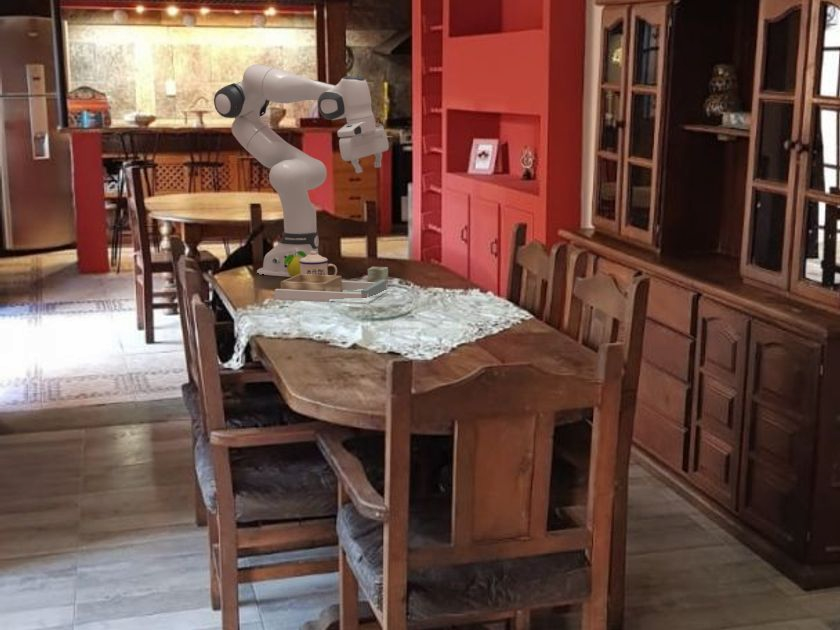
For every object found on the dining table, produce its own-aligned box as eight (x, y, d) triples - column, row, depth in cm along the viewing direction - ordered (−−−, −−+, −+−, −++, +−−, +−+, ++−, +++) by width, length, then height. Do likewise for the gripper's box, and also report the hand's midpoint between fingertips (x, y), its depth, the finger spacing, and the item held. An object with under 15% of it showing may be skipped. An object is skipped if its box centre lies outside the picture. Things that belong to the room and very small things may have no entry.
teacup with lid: (302, 290, 338) (301, 254, 336) (297, 285, 347) (296, 250, 345) (340, 288, 342) (339, 252, 339) (334, 283, 350) (333, 248, 348)
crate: (281, 297, 321) (280, 281, 320) (299, 289, 334) (299, 274, 333) (325, 299, 317) (324, 283, 316) (341, 291, 330) (341, 275, 329)
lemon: (307, 277, 363) (307, 247, 361) (304, 280, 357) (303, 250, 355) (288, 277, 363) (287, 247, 361) (284, 280, 358) (283, 250, 356)
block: (368, 291, 337) (367, 269, 336) (373, 288, 342) (372, 266, 340) (383, 291, 336) (382, 269, 334) (388, 289, 340) (387, 267, 339)
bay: (274, 303, 319) (274, 286, 318) (299, 291, 337) (299, 275, 336) (367, 307, 311) (366, 290, 310) (387, 295, 329) (387, 279, 328)
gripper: (374, 122, 353) (381, 164, 357) (333, 132, 338) (341, 176, 341) (389, 121, 349) (396, 163, 353) (348, 131, 334) (356, 175, 338)
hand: (368, 170), depth 347 cm, fingers open, 8 cm apart
